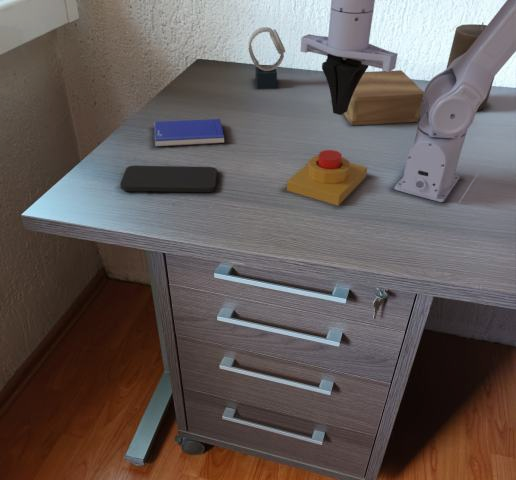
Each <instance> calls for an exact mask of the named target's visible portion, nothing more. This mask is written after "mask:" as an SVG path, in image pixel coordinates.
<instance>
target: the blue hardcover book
mask: <svg viewBox="0 0 516 480" xmlns="http://www.w3.org/2000/svg"><path fill="white" fill-rule="evenodd" d="M222 143H223V144H224V143H225V135H224V131H223V126H222V122H221V119H220V118H213V119H212V118H211V119H182V120H162V121H160V120H158V121H154V145H155V147H166V146H168V147H169V146H186V145H205V144H222Z"/></svg>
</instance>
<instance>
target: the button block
mask: <svg viewBox="0 0 516 480" xmlns="http://www.w3.org/2000/svg"><path fill="white" fill-rule="evenodd" d="M318 158H319V154H317V155H314V156H312V157H311V158H310V159H309V160H308V163H307V164H306V165H304V166H303V167H302V168H301V169H300V170H298V171H297V172H296V173H295V174H294V175H292V176H291V177H290V178H289V179H288V180H286V181H287V182H286V191H287V192H290V193H293V194H294V193H295V194H298V195H301V196H305V197H308V198H311V199H315V200H318V201H321V202H325V203H328V204H331V205H335V206H339V205H341V203H343V202H344V200H345V199H346V198H347V197H348V196H349V195H350V194H351V193H352V192H353V191H354V190H355V189H356V188H357V187H358V186H359V185H360V184H361V183H362V182H363V180H365V179H366V177H367V173H368V167H367V166H364V165H359V164H355V163H352V162H350V161H349V159H347V158H345V157H344V156H342V159H341V167H340V168H338V169H324V168H320V167H319V166H318Z"/></svg>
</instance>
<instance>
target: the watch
mask: <svg viewBox="0 0 516 480" xmlns="http://www.w3.org/2000/svg"><path fill="white" fill-rule="evenodd" d="M262 33H269V36H270V39H271V41H272V43H273V45H274V47H275V49H276V51H277V53H278V54H279V55H280V56H279V58H278V59H277V60H276V61H275V62H274V63H272V64H260V63H259V62H260V61H259V60H258V59H257V57H256V56H255V54H254V52H253V45H252V43H253V40H255V38H256V37H257V36H258V35H259V34H262ZM247 50H248V54H249V56H250V59H251V62H252V63H253V65H254V66H255V74H254V75H255V76H254V77H255V78H254V80H255V84H256V89H277V85H278V72H277V68H278V67H279V66H280V65H281V64H282V62H283V61H284V57H285V55H284V53H286V48H285V46H284V44H283V42H282V40H281V38H280V35H279V33H278V31H277V30H276V29H274V28H273V29H272V28H271V27H267V26H264V27H263V26H262V27H260V28H257V29H256V30H255V31H254V32H253V33H252V34H251V35H250V37H249V41H248V49H247Z"/></svg>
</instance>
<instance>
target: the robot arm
mask: <svg viewBox="0 0 516 480" xmlns="http://www.w3.org/2000/svg"><path fill="white" fill-rule="evenodd" d="M375 2H376V0H330V12H329V23H328V24H329V25H328V33H327V34H328V35H327V36H324V35H315V34H310V33H308V34H306V35H303V36H301V38H300V52H302V53H305V54H306V53H313V54H318V55H321V56H325V57H326V59H325V61H323V62H322V63H321V70H322V72H323V74H324V77H325V78H326V82H327V85H328V89H329V93H330V99H331V106H332V113H333V114H336V115H339V116H341V115H344V114H343V113H345V112H347V110H348V106H349V103H350V100H351V98H352V95H353V93H354V91H355V88H356V86H357V85H358V83H359V81H360V79H361V77H362V76H363V74H364V73H365V72H367V70H368V68H369V67H373V68H376V69H381V71H386V72H389V71H394V70H396V66H397V61H398V54H399V53H398V52H394V51H390V50H387V49H384V48H381V47H380V46H377V45H374V44H372V43H370V38H371V31H372V24H373V17H374V9H375ZM486 25H487V26H486V28H485V29H484V30H483V32H482V33H481V34H480V35H479V37H478V38H477V39H476V40H475V42H474V43H473V44H472V45H471V47H470V48H469V49H468V51H467V52H466V53H464V54H463V55H461V56H459V57H458V58H456V59H455V60H454V61H453V62H452V63H451V64H450V66H449V67H448V68H447V67H446V68H447V69H446V68H445V69H444V70H443V71H442V72H439V73H437V74H436V75H435V76H433V77H432V78H431V79H430V80H429V81H428V82H427V84H426V86H425V88H424V90H423V91H424V97H423V103H424V107H426V111H425V113H424V115H423V116H422V117H421V118H420V120H418V125H417V129H416V134H415V138H414V143H413V146H412V147H411V148H410V149H409V150H408V151H409V152H408V154H407V156H406V160H405V165H404V170H403V176H402V177H401V178H400V180H399V181H398V182H397V183H396V184H395V186H394V187H393V189H394V190H395V191H398V192H402V193H405V194H409V195H413V196H416V197H419V198H423V199H427V200H431V201H433V202H434V201H435V202H439V203H443V202H445V200H446V199H447V197H448V196H449V195H450V193H451V191H452V190H453V189H454V187H455V185H457V183H458V181H459V180H460V175H458V174H456V171H457V168H458V167H457V166H458V163H459V160H460V157H461V153H462V150H463V147H464V143H465V138H466V137H467V132H468V129H469V128H470V127H471V125H473V122H474V120H475V118H476V115H477V112H478V111H477V109H478V107H479V106H480V105H481V103H482V102H483V101H484V100H485V98H486V97H487V94H488V91H489V89H490V86H491V83H492V80H493V78H494V79H495V77H496V75H498V73H499V72H500V70H501V69H502V68H503V67H504V66H505V65H506V64H507V63H508V61H509V60H510V59H511V58H512V57H513V56H514V54H515V53H516V0H506V1H505V2H504V4H502V6H501V7H500V8H499V10H497V12H496V14H495V15H494V16H493V17H492V19H491V20H490V21H489V23H488V24H486ZM494 76H495V77H494ZM493 81H494V80H493Z"/></svg>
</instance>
